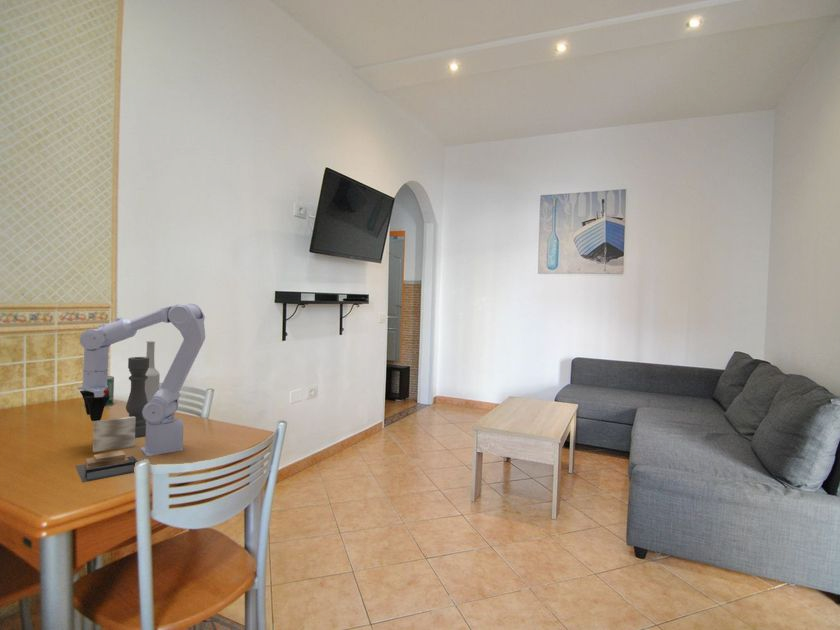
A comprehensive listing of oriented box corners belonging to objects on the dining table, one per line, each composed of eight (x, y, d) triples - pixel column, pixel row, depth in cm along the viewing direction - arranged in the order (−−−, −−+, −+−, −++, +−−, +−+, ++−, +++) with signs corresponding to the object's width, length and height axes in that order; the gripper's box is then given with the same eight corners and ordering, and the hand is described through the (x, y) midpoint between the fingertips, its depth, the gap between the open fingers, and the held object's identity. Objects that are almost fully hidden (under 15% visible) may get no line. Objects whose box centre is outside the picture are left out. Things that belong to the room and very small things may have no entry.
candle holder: (136, 439, 141) (139, 360, 140) (119, 437, 142) (122, 358, 141) (152, 434, 147) (154, 357, 146) (135, 431, 148) (138, 356, 148)
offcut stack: (125, 458, 124) (125, 449, 124) (128, 462, 121) (129, 454, 121) (84, 464, 118) (85, 455, 118) (87, 470, 115) (87, 461, 115)
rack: (133, 457, 126) (133, 450, 126) (144, 472, 117) (145, 464, 117) (75, 467, 117) (75, 459, 117) (82, 484, 108) (82, 475, 108)
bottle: (133, 418, 163) (135, 341, 162) (149, 414, 169) (152, 340, 169) (146, 420, 161) (149, 342, 160) (162, 416, 167) (165, 341, 167)
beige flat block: (133, 446, 135) (134, 416, 135) (134, 447, 134) (135, 417, 134) (92, 452, 128) (93, 421, 128) (93, 453, 127) (94, 422, 127)
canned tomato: (112, 402, 184) (113, 375, 184) (114, 406, 178) (115, 378, 178) (88, 404, 179) (89, 376, 179) (89, 408, 173) (90, 379, 173)
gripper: (74, 367, 132) (72, 413, 132) (81, 375, 121) (79, 425, 122) (103, 366, 137) (101, 410, 137) (113, 373, 126) (111, 421, 127)
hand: (93, 417), depth 130 cm, fingers open, 7 cm apart
